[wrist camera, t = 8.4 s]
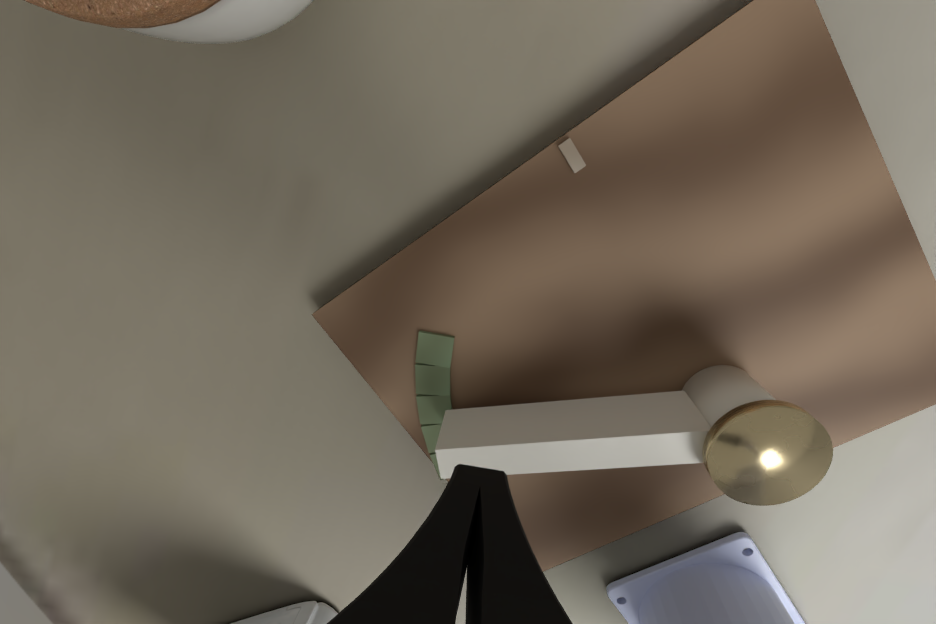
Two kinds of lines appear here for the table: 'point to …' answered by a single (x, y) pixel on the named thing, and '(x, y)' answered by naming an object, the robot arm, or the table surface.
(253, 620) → the photo printer
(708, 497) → the board
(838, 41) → the table surface
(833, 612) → the table surface
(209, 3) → the lidded jar
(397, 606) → the robot arm
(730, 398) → the peg lever
